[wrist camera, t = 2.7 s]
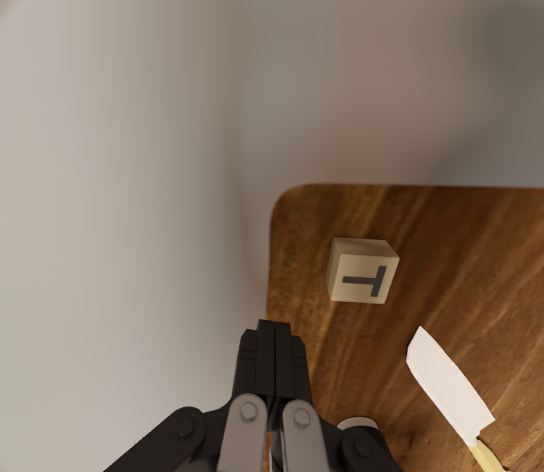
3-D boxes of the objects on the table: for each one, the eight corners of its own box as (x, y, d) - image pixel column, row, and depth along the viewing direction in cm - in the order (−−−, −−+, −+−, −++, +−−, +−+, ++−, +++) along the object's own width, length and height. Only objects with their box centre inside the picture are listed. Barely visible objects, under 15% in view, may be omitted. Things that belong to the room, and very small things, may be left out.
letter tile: (324, 279, 22) (330, 302, 19) (333, 236, 20) (341, 254, 17) (372, 282, 22) (385, 305, 19) (385, 239, 20) (401, 258, 17)
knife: (443, 320, 23) (394, 347, 23) (529, 479, 35) (495, 494, 35) (433, 310, 24) (387, 337, 25) (519, 467, 36) (487, 482, 36)
